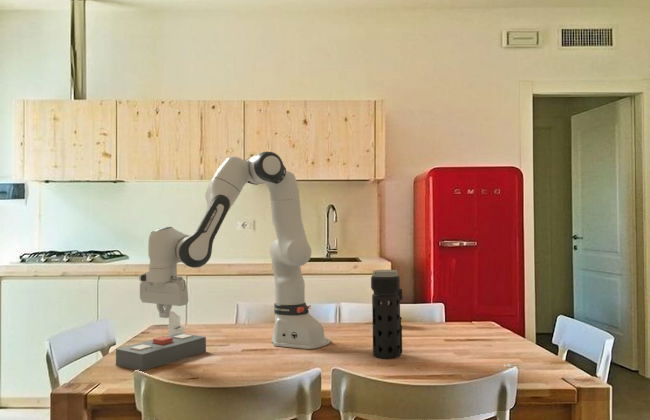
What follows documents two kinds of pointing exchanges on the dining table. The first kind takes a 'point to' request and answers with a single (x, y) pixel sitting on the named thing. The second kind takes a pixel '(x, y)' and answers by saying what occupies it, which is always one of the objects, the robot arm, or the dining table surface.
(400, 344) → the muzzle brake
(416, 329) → the dining table surface
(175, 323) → the white angled block
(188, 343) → the button console
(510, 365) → the paper
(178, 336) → the white button right
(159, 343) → the red button
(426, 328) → the dining table surface
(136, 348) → the white button left
